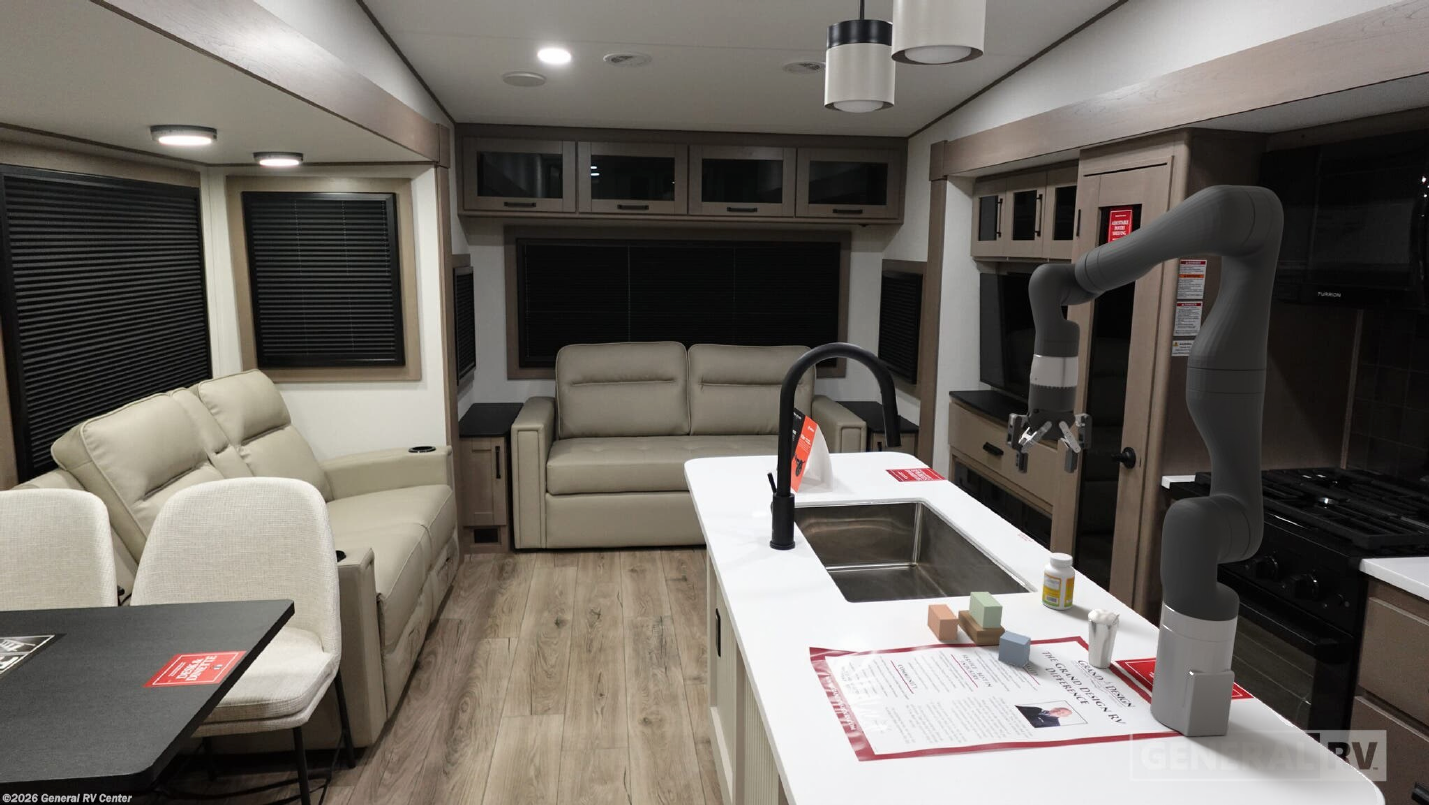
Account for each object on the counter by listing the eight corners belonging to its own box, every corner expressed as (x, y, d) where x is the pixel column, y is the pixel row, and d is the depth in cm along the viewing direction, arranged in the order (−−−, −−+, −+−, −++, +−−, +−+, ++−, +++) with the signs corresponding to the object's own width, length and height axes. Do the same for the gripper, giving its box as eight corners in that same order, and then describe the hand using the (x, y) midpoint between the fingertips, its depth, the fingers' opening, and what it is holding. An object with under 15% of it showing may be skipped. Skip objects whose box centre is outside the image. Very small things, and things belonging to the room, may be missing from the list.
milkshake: (1100, 674, 134) (1106, 616, 132) (1077, 658, 139) (1083, 602, 137) (1124, 671, 135) (1130, 613, 133) (1100, 655, 140) (1106, 599, 138)
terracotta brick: (956, 640, 145) (958, 619, 145) (938, 641, 145) (940, 619, 144) (944, 625, 151) (946, 604, 151) (927, 625, 151) (928, 604, 150)
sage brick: (1000, 628, 144) (1002, 606, 143) (982, 628, 144) (984, 606, 143) (986, 612, 150) (988, 591, 149) (968, 613, 150) (970, 592, 149)
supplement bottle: (1067, 599, 162) (1071, 551, 161) (1075, 611, 157) (1080, 562, 155) (1038, 598, 163) (1042, 550, 161) (1046, 610, 158) (1050, 561, 156)
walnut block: (1004, 645, 144) (1005, 629, 144) (976, 647, 144) (977, 630, 143) (984, 625, 152) (985, 609, 152) (957, 626, 152) (958, 610, 151)
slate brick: (1029, 660, 139) (1030, 637, 138) (1022, 667, 136) (1024, 645, 136) (1004, 653, 141) (1006, 630, 140) (998, 660, 139) (999, 637, 138)
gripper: (1023, 385, 140) (1015, 479, 143) (1105, 384, 141) (1095, 477, 144) (1004, 377, 147) (997, 467, 150) (1082, 377, 148) (1074, 466, 152)
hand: (1045, 472), depth 147 cm, fingers open, 8 cm apart
